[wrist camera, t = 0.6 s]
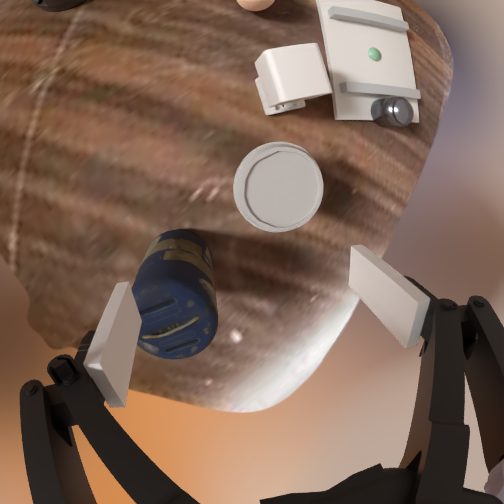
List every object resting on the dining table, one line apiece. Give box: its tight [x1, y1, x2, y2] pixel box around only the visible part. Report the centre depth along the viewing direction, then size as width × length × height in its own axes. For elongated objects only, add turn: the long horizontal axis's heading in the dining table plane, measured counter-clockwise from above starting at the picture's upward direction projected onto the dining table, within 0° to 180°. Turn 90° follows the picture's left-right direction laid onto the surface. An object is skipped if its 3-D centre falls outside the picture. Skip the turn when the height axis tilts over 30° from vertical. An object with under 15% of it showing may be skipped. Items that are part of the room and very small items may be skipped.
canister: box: [131, 230, 218, 359], centre depth 33 cm, size 10×10×18 cm
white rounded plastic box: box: [255, 43, 333, 115], centre depth 30 cm, size 6×7×10 cm
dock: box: [316, 0, 421, 123], centre depth 33 cm, size 22×16×3 cm
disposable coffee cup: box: [233, 142, 323, 232], centre depth 33 cm, size 10×10×12 cm
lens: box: [371, 97, 414, 127], centre depth 34 cm, size 4×4×6 cm
